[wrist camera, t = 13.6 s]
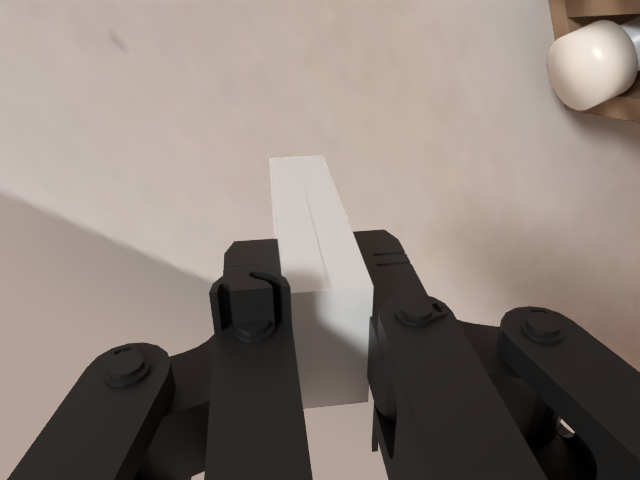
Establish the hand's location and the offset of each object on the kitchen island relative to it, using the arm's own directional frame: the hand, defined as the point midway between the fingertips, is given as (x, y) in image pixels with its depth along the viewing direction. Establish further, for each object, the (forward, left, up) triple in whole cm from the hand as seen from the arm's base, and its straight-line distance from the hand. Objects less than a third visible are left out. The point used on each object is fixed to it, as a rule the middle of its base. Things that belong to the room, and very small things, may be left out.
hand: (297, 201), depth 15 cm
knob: (+5, +26, -16) cm, 31 cm away
